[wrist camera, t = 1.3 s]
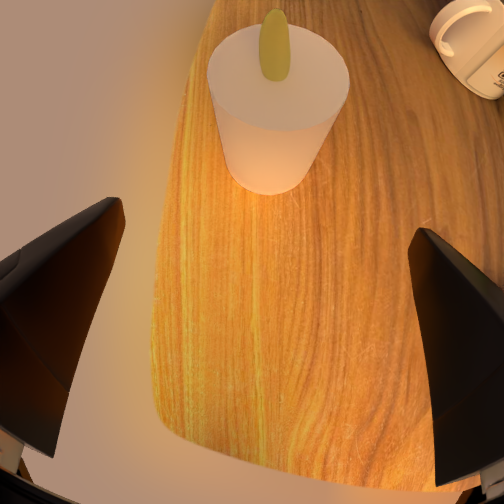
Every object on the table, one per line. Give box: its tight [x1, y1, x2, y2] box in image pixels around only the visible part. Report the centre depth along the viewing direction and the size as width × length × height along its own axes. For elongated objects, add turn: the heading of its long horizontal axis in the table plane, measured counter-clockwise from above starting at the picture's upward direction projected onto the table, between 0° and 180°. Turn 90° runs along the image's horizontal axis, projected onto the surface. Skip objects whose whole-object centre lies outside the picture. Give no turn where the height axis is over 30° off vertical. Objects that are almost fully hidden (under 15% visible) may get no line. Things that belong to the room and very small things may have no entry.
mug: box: [429, 0, 504, 99], centre depth 18 cm, size 10×12×11 cm
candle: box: [207, 8, 350, 195], centre depth 15 cm, size 6×6×15 cm
